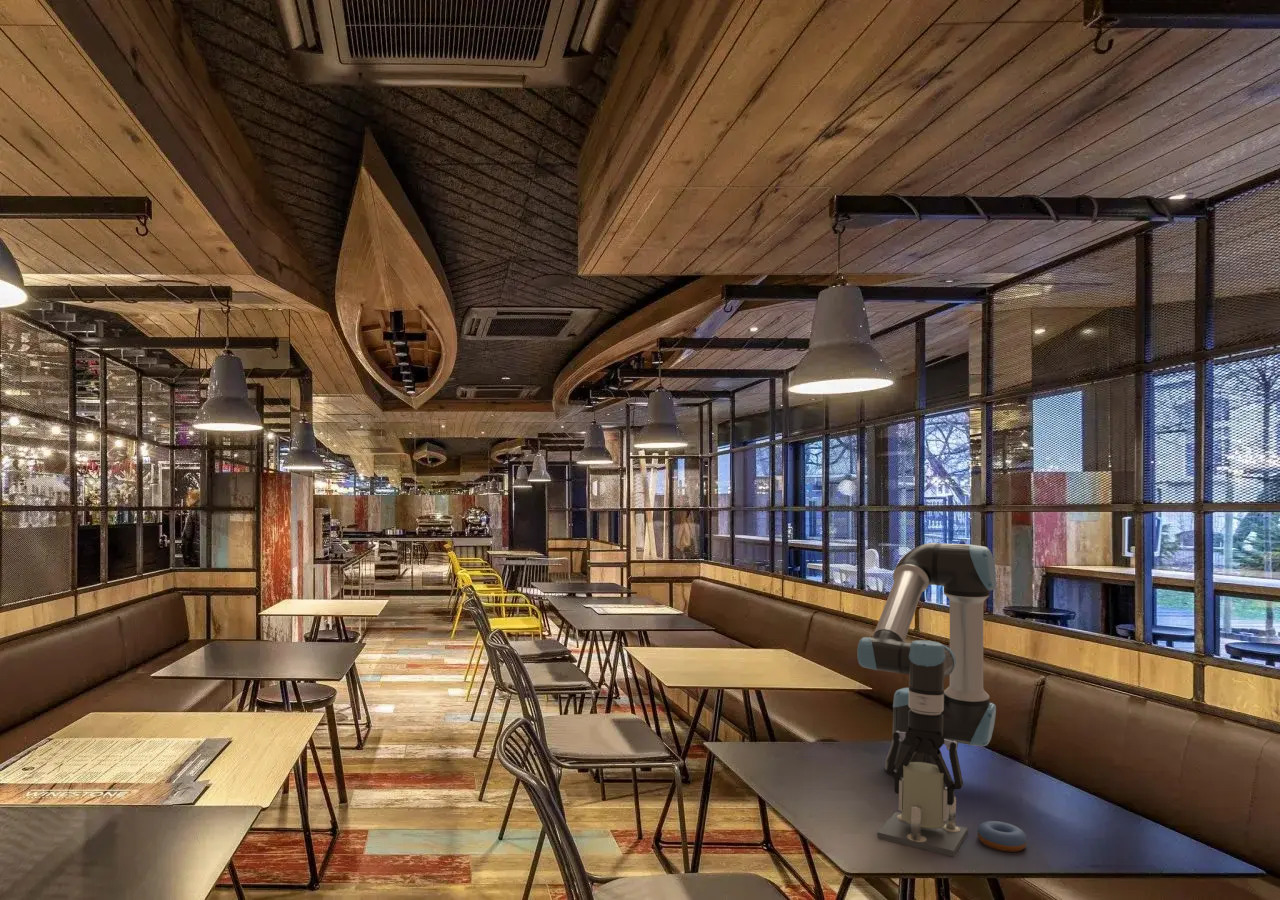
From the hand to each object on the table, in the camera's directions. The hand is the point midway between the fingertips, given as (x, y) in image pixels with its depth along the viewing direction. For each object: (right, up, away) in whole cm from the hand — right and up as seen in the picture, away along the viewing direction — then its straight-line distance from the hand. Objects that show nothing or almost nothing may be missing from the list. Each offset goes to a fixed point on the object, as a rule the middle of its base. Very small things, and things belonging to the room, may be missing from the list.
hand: (923, 813), depth 184 cm
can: (0, -2, 0) cm, 2 cm away
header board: (0, -5, 0) cm, 5 cm away
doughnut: (+16, -6, -3) cm, 18 cm away
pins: (-1, -3, -1) cm, 4 cm away
